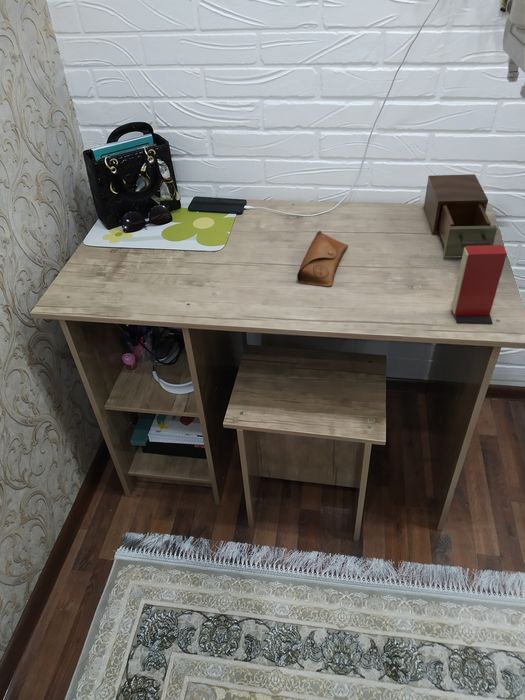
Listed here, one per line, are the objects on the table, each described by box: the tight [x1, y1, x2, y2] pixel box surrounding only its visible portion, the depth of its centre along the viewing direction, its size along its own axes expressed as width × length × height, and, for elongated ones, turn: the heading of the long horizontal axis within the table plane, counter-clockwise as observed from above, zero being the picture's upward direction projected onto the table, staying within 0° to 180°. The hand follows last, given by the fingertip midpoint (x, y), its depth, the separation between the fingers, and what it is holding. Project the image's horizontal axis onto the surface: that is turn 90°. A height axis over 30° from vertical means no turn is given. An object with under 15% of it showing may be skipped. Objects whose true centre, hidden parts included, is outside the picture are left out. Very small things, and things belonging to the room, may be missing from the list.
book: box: [451, 244, 508, 317], centre depth 113 cm, size 7×3×15 cm, turn 88°
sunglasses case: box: [296, 230, 349, 287], centre depth 133 cm, size 18×7×7 cm
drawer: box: [438, 203, 498, 258], centre depth 133 cm, size 17×10×7 cm, turn 177°
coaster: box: [454, 315, 493, 325], centre depth 118 cm, size 7×7×1 cm
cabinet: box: [423, 174, 489, 236], centre depth 143 cm, size 14×12×9 cm
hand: (518, 88), depth 115 cm, fingers open, 8 cm apart
